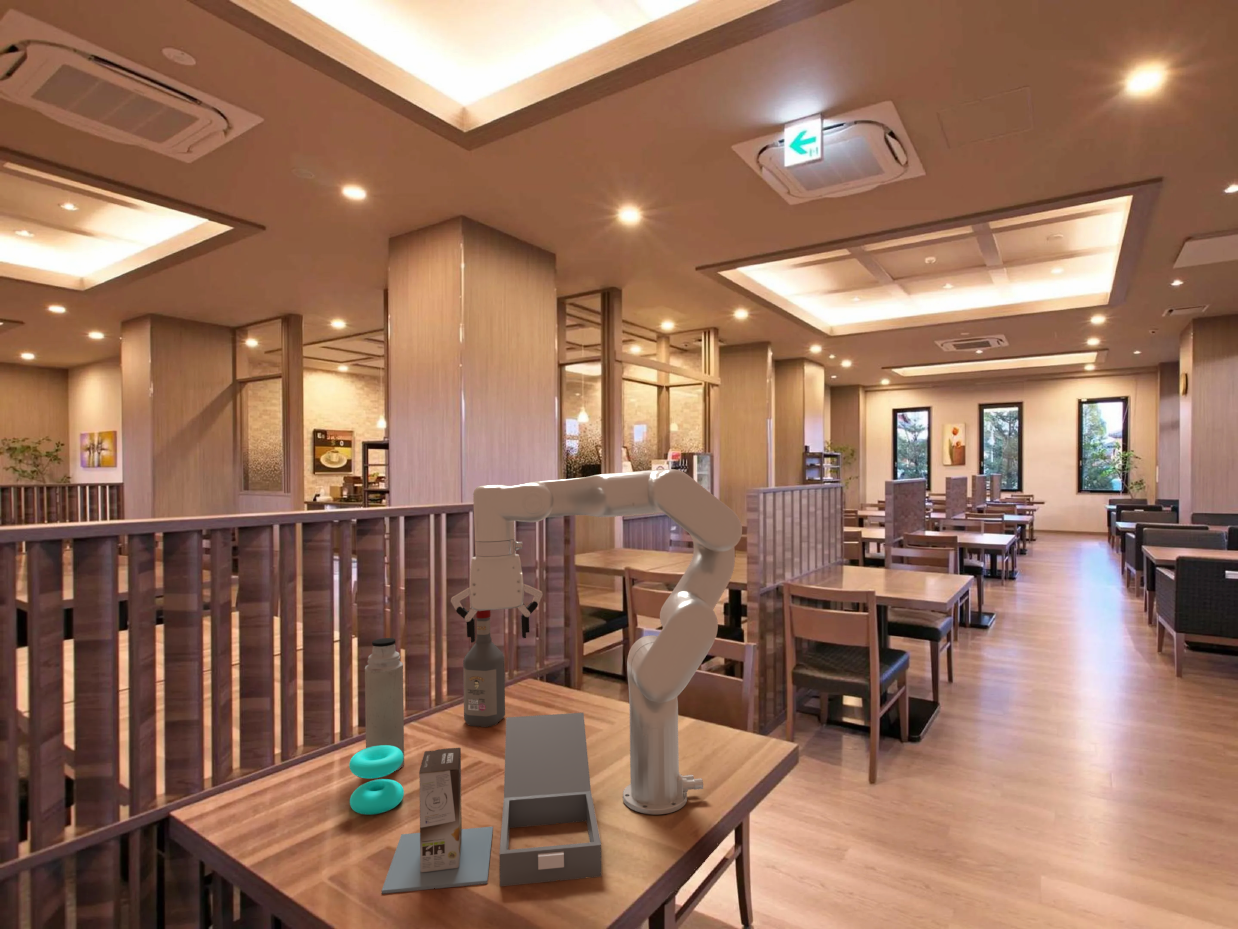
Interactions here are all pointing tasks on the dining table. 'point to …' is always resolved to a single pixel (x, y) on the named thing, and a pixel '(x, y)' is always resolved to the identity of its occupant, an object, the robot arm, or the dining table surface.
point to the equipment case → (549, 859)
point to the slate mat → (469, 872)
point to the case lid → (546, 755)
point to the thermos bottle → (384, 696)
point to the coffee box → (440, 810)
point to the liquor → (484, 678)
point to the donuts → (376, 792)
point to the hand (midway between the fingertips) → (498, 638)
